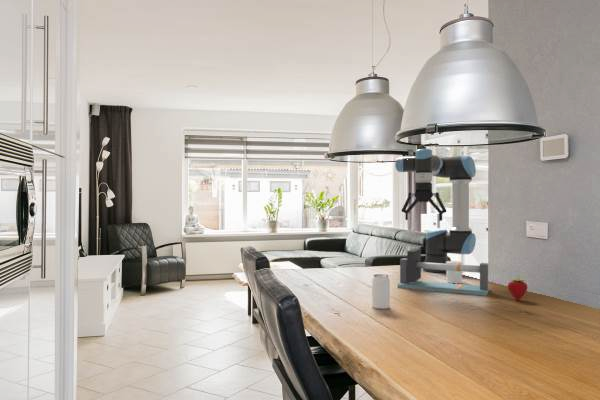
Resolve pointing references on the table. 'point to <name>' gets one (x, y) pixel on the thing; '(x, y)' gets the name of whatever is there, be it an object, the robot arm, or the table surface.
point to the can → (380, 291)
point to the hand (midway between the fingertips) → (423, 227)
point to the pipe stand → (446, 287)
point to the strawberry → (517, 288)
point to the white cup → (454, 273)
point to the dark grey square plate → (413, 265)
